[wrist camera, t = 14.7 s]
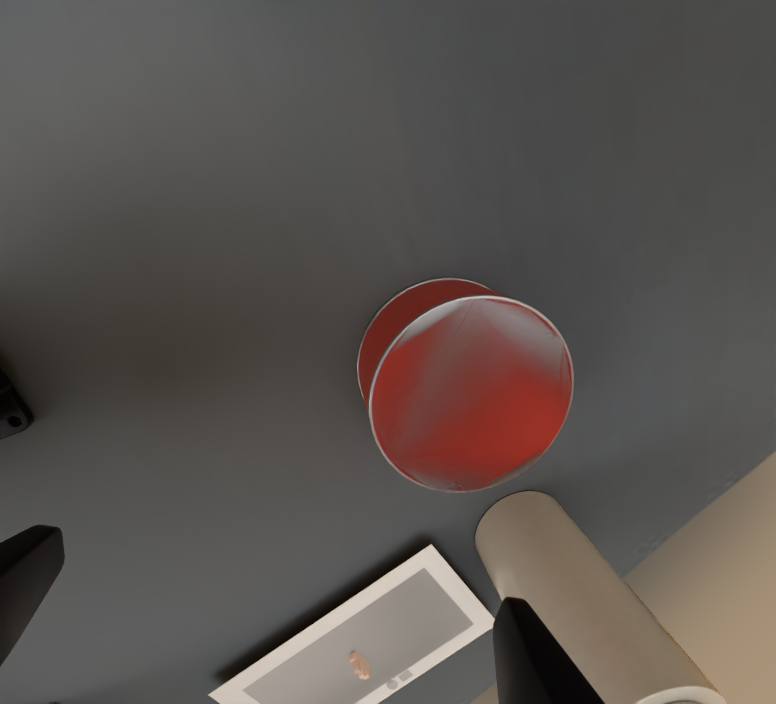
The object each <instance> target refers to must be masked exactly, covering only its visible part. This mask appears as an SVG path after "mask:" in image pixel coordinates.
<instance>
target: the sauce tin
mask: <svg viewBox="0 0 776 704" xmlns="http://www.w3.org/2000/svg"><path fill="white" fill-rule="evenodd" d="M357 377H358V383H359V387H360V390H361V394H362V397H363V399H364V401H365V404H366V408H367V411H368V415H369V421H370V427H371V430H372V433H373V436H374V439H375V442H376V444H377V446H378V448H379V450H380V452H381V453H382V455H383V456H384V457H385V459H386V460H387V462H388V463H389V464H390V465H391V466H392V467H393V468H394V469H395V470H396V471H397V472H399V473H400V474H401V475H402V476H404V477H405V478H407V479H408V480H410V481H412V482H414V483H415V484H418V485H420V486H423V487H425V488H428V489H432V490H436V491H441V492H448V493H466V492H475V491H480V490H484V489H488V488H491V487H494V486H497V485H500V484H502V483H504V482H506V481H508V480H511V479H512V478H514V477H516V476H517V475H519V474H521V473H522V472H524V471H525V470H526V469H528V468H529V467H530V466H532V465H533V464H534V463H535V462H536V461H537V460H538V459H539V458H540V457H542V455H543V454H544V453H545V452H546V451H547V450H548V449H549V447H550V446H551V445H552V443H553V442H554V441H555V439H556V438H557V436H558V435H559V433H560V431H561V429H562V427H563V425H564V423H565V421H566V418H567V416H568V413H569V410H570V406H571V403H572V398H573V391H574V371H573V363H572V360H571V356H570V352H569V350H568V347H567V345H566V343H565V340H564V339H563V337H562V336H561V334H560V332H559V331H558V329H557V328H556V327H555V326H554V325H553V323H552V322H551V321H550V320H549V319H548V318H547V317H545V316H544V315H543V314H542V313H541V312H539V311H538V310H536V309H534V308H533V307H531V306H529V305H527V304H525V303H523V302H520V301H518V300H516V299H513V298H509V297H506V296H504V295H501V294H499V293H497V292H495V291H493V290H491V289H489V288H488V287H486V286H484V285H481V284H479V283H477V282H474V281H471V280H467V279H463V278H454V277H440V278H434V279H428V280H425V281H421V282H418V283H416V284H413V285H411V286H409V287H407V288H405V289H403V290H402V291H400V292H398V293H397V294H395V295H394V296H393V297H392V298H390V299H389V300H388V301H387V302H386V303H385V304H384V305H383V306H382V307H381V308H380V309H379V310H378V311H377V312H376V314H375V315H374V316H373V318H372V319H371V321H370V322H369V324H368V326H367V328H366V329H365V332H364V334H363V337H362V339H361V342H360V346H359V350H358V356H357Z"/></svg>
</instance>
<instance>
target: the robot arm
mask: <svg viewBox="0 0 776 704" xmlns="http://www.w3.org/2000/svg"><path fill="white" fill-rule="evenodd" d="M14 416H16V417H19V418H20V419H21V421H22V423H20V422H17V421H16V420H15V419H14ZM33 421H34V417H33V414H32V412H31V411H30V410H29V408H28V407H27V405H26V404H25V403H24V401H23V400H22V398H21V397H20V395H19V394H18V393H17V391H16V390H15V388H14V387H13V386H12V384H11V381H10V380H9V379H8V377H7V376H6V374H5V373H4V371H3V370H2V369H1V367H0V439H2V438H5V437H8V436H11V435H13V434H16V433H19V432H21V431H23V430H25V429H26V428H28V427H29V426H30V425H32V423H33ZM64 558H65V556H64V547H63V537H62V531H61V530H60V528H58V527H53V526H47V525H36V526H33V527H30V528H29V529H27V530H25V531H23V532H21V533H19V534H17V535H15V536H13V537H11V538H9V539H7V540H5V541H3V542H1V543H0V666H1V665H2V663H3V662H4V661H5V659H6V658H7V656H8V655H9V653H10V652H11V650H12V649H13V647H14V646H15V644H16V643H17V641H18V640H19V638H20V636H21V635H22V633H23V631H24V630H25V628H26V626H27V625H28V623H29V622H30V620H31V618H32V617H33V615H34V613H35V612H36V610H37V608H38V607H39V605H40V604H41V602H42V600H43V599H44V597H45V595H46V594H47V592H48V591H49V589H50V587H51V586H52V584H53V582H54V581H55V579H56V577H57V576H58V574H59V573H60V571H61V569H62V566H63V564H64ZM493 644H494V655H495V666H496V677H497V687H498V699H499V704H605V703H604V701H603V700H602V699H601V697H600V696H599V695H598V693H597V692H596V691H595V690H594V688H593V687H592V686H591V684H590V683H589V682H588V680H587V679H586V678H585V676H584V675H583V674H582V673H581V671H580V670H579V669H578V667H577V666H576V665H575V663H574V662H573V661H572V659H571V658H570V657H569V656H568V654H567V653H566V652H565V650H564V649H563V648H562V646H561V645H560V644H559V643H558V641H557V640H556V639H555V637H554V636H553V635H552V633H551V632H550V631H549V629H548V628H547V627H546V626H545V624H544V623H543V622H542V620H541V619H540V618H539V616H538V615H537V614H536V612H535V611H534V610H533V609H532V607H531V606H530V605H529V603H528V602H527V601H526V600H524V599H521V598H515V597H505V598H504V600H503V601H502V604H501V606H500V609H499V611H498V613H497V616H496V618H495V621H494V624H493Z"/></svg>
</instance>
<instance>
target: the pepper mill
mask: <svg viewBox="0 0 776 704" xmlns="http://www.w3.org/2000/svg"><path fill="white" fill-rule="evenodd" d="M475 545H476V549H477V552H478V554H479V556H480V558H481V560H482V562H483V564H484V566H485V569H486V571H487V573H488V575H489V577H490V579H491V581H492V583H493V585H494V587H495V589H496V591H497V593H498V595H499V597H500V599H501V601H503V600H504V598H505V597H515V598H521V599H524V600H526V601H527V602H528V603H529V605H530V606H531V607H532V609H533V610H534V611H535V612H536V614H537V615H538V616H539V618H540V619H541V620H542V622H543V623H544V624H545V626H546V627H547V628H548V629H549V631H550V632H551V633H552V635H553V636H554V637H555V639H556V640H557V641H558V643H559V644H560V645H561V646H562V648H563V649H564V650H565V652H566V653H567V654H568V656H569V657H570V658H571V659H572V661H573V662H574V663H575V665H576V666H577V667H578V669H579V670H580V671H581V673H582V674H583V675H584V676H585V678H586V679H587V680H588V682H589V683H590V684H591V686H592V687H593V688H594V690H595V691H596V692H597V693H598V695H599V696H600V697H601V699H602V700H603V701H604V703H605V704H727V703H726V701H725V699H724V698H723V697H722V695H721V694H720V693H719V692H718V691H717V689H716V688H715V687H714V686H713V685H712V684H711V682H710V681H709V680H708V679H707V678H706V677H705V675H704V674H703V673H702V672H701V671H700V670H699V668H698V667H697V666H696V665H695V664H694V662H693V661H692V660H691V659H690V658H689V657H688V656H687V654H686V653H685V652H684V651H683V649H682V648H681V647H680V646H679V645H678V643H677V642H676V641H675V640H674V639H673V638H672V636H671V635H670V634H669V633H668V632H667V630H666V629H665V628H664V627H663V626H662V625H661V623H660V622H659V621H658V620H657V619H656V618H655V616H654V615H653V614H652V613H651V612H650V611H649V609H648V608H647V607H646V606H645V605H644V603H643V602H642V601H641V600H640V599H639V597H638V596H637V595H636V594H635V593H634V592H633V590H632V589H631V588H630V587H629V586H628V584H627V583H626V582H625V581H624V580H623V579H622V577H621V576H620V575H619V574H618V573H617V572H616V570H615V569H614V568H613V567H612V566H611V564H610V563H609V562H608V561H607V560H606V559H605V557H604V556H603V555H602V554H601V553H600V551H599V550H598V549H597V548H596V547H595V546H594V544H593V543H592V542H591V541H590V540H589V539H588V537H587V536H586V535H585V534H584V533H583V531H582V530H581V529H580V528H579V527H578V526H577V524H576V523H575V522H574V521H573V520H572V518H571V517H570V516H569V515H568V514H567V513H566V511H565V510H564V509H563V508H562V507H561V505H560V504H559V503H558V502H557V501H556V500H555V499H554V498H552V497H551V496H549V495H547V494H545V493H541V492H536V491H524V492H518V493H515V494H512V495H509V496H507V497H505V498H503V499H501V500H500V501H498V502H497V503H495V504H494V505H493V506H492V507H491V508H490V509H489V510H488V511H487V512H486V513H485V514H484V516H483V517H482V519H481V520H480V522H479V524H478V527H477V530H476V535H475Z"/></svg>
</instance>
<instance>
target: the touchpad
mask: <svg viewBox="0 0 776 704" xmlns="http://www.w3.org/2000/svg"><path fill="white" fill-rule="evenodd" d="M494 621H495V619H494V618H493V616H492V615H491V614H490V613H489V612H488V611H487V609H486V608H485V607H484V606H483V605H482V603H481V602H480V601H479V600H478V599H477V598H476V596H475V595H474V594H473V593H472V592H471V590H470V589H469V588H468V587H467V586H466V585H465V583H464V582H463V581H462V580H461V579H460V577H459V576H458V575H457V574H456V573H455V572H454V570H453V569H452V568H451V567H450V566H449V564H448V563H447V562H446V561H445V560H444V558H443V557H442V556H441V555H440V554H439V553H438V551H437V550H436V549H435V548H434V547H433V545H432V544H430V545H429V546H427V547H426V548H424V549H423V550H421V551H420V552H419V553H417V554H416V555H414V556H413V557H411V558H410V559H408V560H407V561H405V562H404V563H402V564H401V565H399V566H398V567H396V568H395V569H393V570H392V571H390V572H389V573H387V574H386V575H384V576H383V577H381V578H380V579H378V580H377V581H376V582H374V583H373V584H371V585H370V586H368V587H367V588H365V589H364V590H362V591H361V592H359V593H358V594H356V595H355V596H353V597H352V598H350V599H349V600H347V601H346V602H344V603H343V604H341V605H340V606H338V607H337V608H336V609H334V610H333V611H331V612H330V613H328V614H327V615H325V616H324V617H322V618H321V619H319V620H318V621H316V622H315V623H313V624H312V625H310V626H309V627H307V628H306V629H304V630H303V631H301V632H300V633H298V634H297V635H296V636H294V637H293V638H291V639H290V640H288V641H287V642H285V643H284V644H282V645H281V646H279V647H278V648H276V649H275V650H273V651H272V652H270V653H269V654H267V655H266V656H264V657H263V658H261V659H260V660H258V661H257V662H256V663H254V664H253V665H251V666H250V667H248V668H247V669H245V670H244V671H242V672H241V673H239V674H238V675H236V676H235V677H233V678H232V679H230V680H229V681H227V682H226V683H224V684H223V685H221V686H220V687H218V688H217V689H216V690H214V691H213V692H211V693H210V694H208V695H209V696H210V697H212V698H213V699H214V700H216V701H217V702H219V703H220V704H378V703H379V702H381V701H382V700H384V699H385V698H387V697H388V696H390V695H391V694H393V693H394V692H396V691H397V690H399V689H400V688H402V687H403V686H405V685H406V684H408V683H409V682H411V681H412V680H414V679H415V678H417V677H418V676H420V675H421V674H423V673H424V672H426V671H427V670H429V669H431V668H432V667H434V666H435V665H437V664H438V663H440V662H441V661H443V660H444V659H446V658H447V657H449V656H450V655H452V654H453V653H455V652H456V651H458V650H459V649H461V648H462V647H464V646H465V645H467V644H468V643H470V642H471V641H473V640H474V639H476V638H477V637H479V636H480V635H482V634H483V633H485V632H486V631H488V630H489V629H491V628H493V624H494Z"/></svg>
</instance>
